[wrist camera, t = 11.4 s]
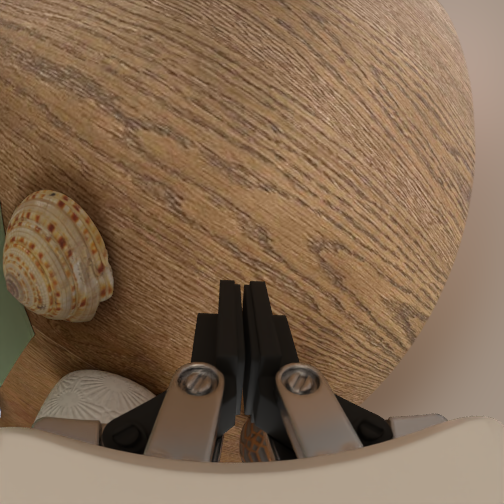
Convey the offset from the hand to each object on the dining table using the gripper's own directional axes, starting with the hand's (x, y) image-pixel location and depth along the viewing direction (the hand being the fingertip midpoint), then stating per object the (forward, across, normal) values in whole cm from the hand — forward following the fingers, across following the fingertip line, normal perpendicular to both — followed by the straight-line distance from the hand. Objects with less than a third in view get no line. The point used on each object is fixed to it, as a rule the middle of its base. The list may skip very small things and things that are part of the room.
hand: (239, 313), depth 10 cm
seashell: (+5, +11, 0) cm, 13 cm away
